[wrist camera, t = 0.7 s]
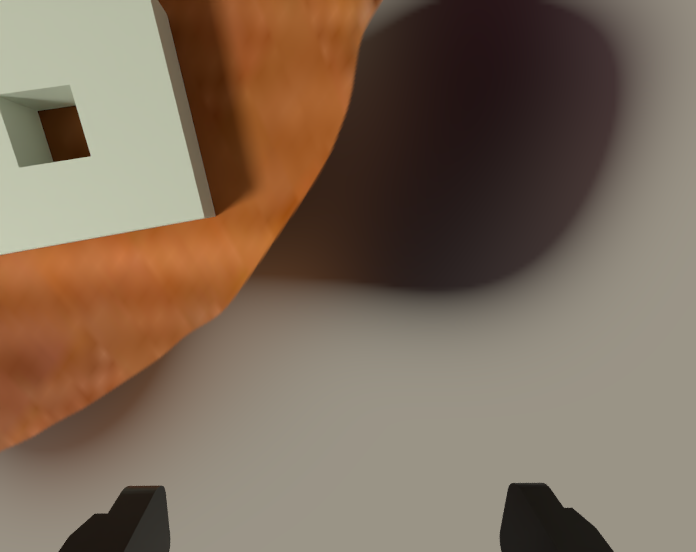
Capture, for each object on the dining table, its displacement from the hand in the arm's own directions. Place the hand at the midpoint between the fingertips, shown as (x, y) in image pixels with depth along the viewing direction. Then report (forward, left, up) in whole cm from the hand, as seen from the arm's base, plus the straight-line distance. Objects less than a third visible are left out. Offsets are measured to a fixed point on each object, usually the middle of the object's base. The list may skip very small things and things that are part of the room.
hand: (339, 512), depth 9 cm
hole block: (-15, -15, -28) cm, 35 cm away
